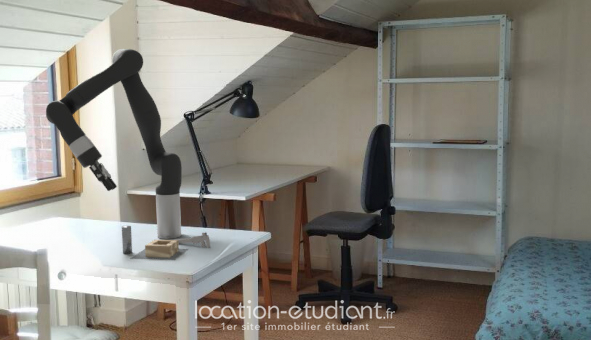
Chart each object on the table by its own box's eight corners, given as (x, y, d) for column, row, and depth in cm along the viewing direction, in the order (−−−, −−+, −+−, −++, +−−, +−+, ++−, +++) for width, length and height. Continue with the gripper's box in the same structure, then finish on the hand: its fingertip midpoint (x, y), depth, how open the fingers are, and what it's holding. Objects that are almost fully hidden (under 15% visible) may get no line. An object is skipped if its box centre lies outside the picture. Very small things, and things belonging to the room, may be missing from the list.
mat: (147, 248, 238) (147, 247, 238) (189, 250, 236) (189, 248, 235) (130, 259, 224) (129, 258, 224) (174, 261, 221) (174, 259, 221)
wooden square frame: (155, 250, 234) (154, 239, 233) (178, 251, 232) (178, 240, 232) (145, 256, 225) (145, 245, 225) (169, 257, 224) (169, 246, 223)
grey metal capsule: (125, 252, 233) (123, 225, 232) (133, 253, 232) (132, 225, 231) (121, 255, 230) (120, 227, 229) (130, 255, 229) (128, 227, 228)
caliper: (210, 249, 238) (209, 232, 237) (208, 249, 237) (208, 233, 236) (165, 243, 247) (164, 227, 246) (163, 244, 246) (163, 228, 245)
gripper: (90, 144, 221) (119, 183, 223) (97, 145, 235) (124, 182, 237) (72, 157, 221) (100, 196, 222) (80, 157, 235) (107, 194, 236)
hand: (112, 189), depth 230 cm, fingers open, 8 cm apart
